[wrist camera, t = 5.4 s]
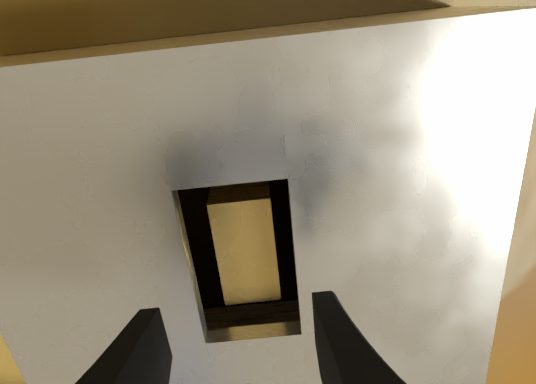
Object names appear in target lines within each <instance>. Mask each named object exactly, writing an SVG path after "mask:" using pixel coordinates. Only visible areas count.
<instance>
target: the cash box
mask: <svg viewBox="0 0 536 384" xmlns="http://www.w3.org/2000/svg"><path fill="white" fill-rule="evenodd" d="M535 103H536V6H479V7H444V8H435V9H426V10H417V11H408V12H399V13H390V14H381V15H372V16H363V17H354V18H345V19H336V20H327V21H318V22H309V23H300V24H291V25H282V26H273V27H264V28H255V29H246V30H237V31H228V32H219V33H210V34H201V35H192V36H183V37H174V38H165V39H156V40H147V41H138V42H129V43H120V44H111V45H102V46H93V47H84V48H75V49H66V50H57V51H48V52H39V53H30V54H21V55H12V56H2V57H0V333H1V335H2V337H3V339H4V341H5V343H6V345H7V347H8V349H9V351H10V353H11V355H12V357H13V358H14V360H15V362H16V364H17V366H18V368H19V370H20V372H21V374H22V376H23V378H24V380H25V382H26V384H75V383H76V382H77V381H78V380H79V379H80V378H81V376H82V375H83V374H84V373H85V372H86V371H87V370H88V369H89V368H90V367H91V366H92V365H93V364H94V362H95V361H96V360H97V359H98V358H99V357H100V356H101V354H102V353H103V352H104V351H105V350H106V349H107V348H108V346H109V345H110V344H111V343H112V342H113V340H114V339H115V338H116V337H117V336H118V335H119V333H120V332H121V331H122V330H123V329H124V327H125V326H126V325H127V324H128V323H129V321H130V320H131V319H132V318H133V317H134V315H135V314H136V313H137V312H138V311H139V310H140V309H148V308H158V307H159V308H160V312H161V316H162V319H163V323H164V326H165V330H166V334H167V337H168V341H169V345H170V348H171V352H172V356H173V357H172V365H171V373H170V380H169V384H322V381H321V377H320V371H319V365H318V358H317V352H316V345H315V334H314V319H313V305H312V292H321V291H333V292H334V293H335V294H336V296H337V298H338V300H339V301H340V303H341V305H342V306H343V308H344V309H345V311H346V312H347V314H348V315H349V317H350V318H351V320H352V321H353V322H354V324H355V325H356V327H357V328H358V329H359V330H360V332H361V333H362V334H363V336H364V337H365V338H366V339H367V341H368V342H369V343H370V344H371V346H372V347H373V348H374V349H375V350H376V352H377V353H378V354H379V355H380V356H381V357H382V358H383V360H384V361H385V362H386V363H387V364H388V365H389V366H390V367H391V368H392V369H393V370H394V371H395V373H396V374H397V375H398V376H399V377H400V378H401V379H402V380H403V381H404V382H405V383H406V384H485V381H486V375H487V370H488V365H489V359H490V354H491V348H492V342H493V337H494V331H495V326H496V320H497V314H498V309H499V303H500V298H501V292H502V287H503V281H504V276H505V270H506V264H507V259H508V253H509V248H510V242H511V236H512V231H513V225H514V220H515V214H516V209H517V203H518V197H519V192H520V186H521V181H522V175H523V170H524V164H525V158H526V153H527V147H528V142H529V136H530V130H531V125H532V119H533V114H534V108H535ZM279 179H287V181H288V192H289V203H290V215H291V226H292V237H293V249H294V260H295V271H296V283H297V294H298V300H294V301H284V302H274V303H263V304H253V305H243V306H233V307H222V308H212V309H203V306H202V302H201V297H200V293H199V288H198V283H197V279H196V274H195V270H194V265H193V260H192V256H191V251H190V246H189V242H188V237H187V233H186V228H185V223H184V219H183V214H182V210H181V205H180V200H179V196H178V191H177V190H182V189H192V188H201V187H211V186H221V185H230V184H240V183H250V182H259V181H269V180H279Z"/></svg>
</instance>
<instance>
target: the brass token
mask: <svg viewBox="0 0 536 384" xmlns="http://www.w3.org/2000/svg"><path fill="white" fill-rule="evenodd" d="M207 210H208V215H209V220H210V226H211V231H212V237H213V242H214V247H215V253H216V258H217V264H218V269H219V274H220V280H221V285H222V290H223V296H224V301H225V305H232V304H241V303H251V302H261V301H270V300H280V299H281V292H280V282H279V272H278V262H277V252H276V242H275V232H274V223H273V214H272V205H271V196H270V187H269V181H259V182H250V183H240V184H230V185H221V186H211V188H210V193H209V197H208V202H207Z"/></svg>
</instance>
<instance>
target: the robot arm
mask: <svg viewBox="0 0 536 384" xmlns="http://www.w3.org/2000/svg"><path fill="white" fill-rule="evenodd" d="M312 305H313V319H314V334H315V345H316V352H317V358H318V365H319V371H320V377H321V381H322V384H406V383H405V382H404V381H403V380H402V379H401V378H400V377H399V376H398V375H397V374H396V373H395V371H394V370H393V369H392V368H391V367H390V366H389V365H388V364H387V363H386V362H385V361H384V360H383V358H382V357H381V356H380V355H379V354H378V353H377V352H376V350H375V349H374V348H373V347H372V346H371V344H370V343H369V342H368V341H367V339H366V338H365V337H364V336H363V334H362V333H361V332H360V330H359V329H358V328H357V327H356V325H355V324H354V322H353V321H352V320H351V318H350V317H349V315H348V314H347V312H346V311H345V309H344V308H343V306H342V305H341V303H340V301H339V300H338V298H337V296H336V294H335V293H334V292H333V291H321V292H312ZM172 357H173V356H172V352H171V348H170V345H169V341H168V337H167V334H166V330H165V326H164V323H163V319H162V316H161V312H160V308H159V307H158V308H148V309H140V310H139V311H138V312H137V313H136V314H135V315H134V317H133V318H132V319H131V320H130V321H129V323H128V324H127V325H126V326H125V327H124V329H123V330H122V331H121V332H120V333H119V335H118V336H117V337H116V338H115V339H114V340H113V342H112V343H111V344H110V345H109V346H108V348H107V349H106V350H105V351H104V352H103V353H102V354H101V356H100V357H99V358H98V359H97V360H96V361H95V362H94V364H93V365H92V366H91V367H90V368H89V369H88V370H87V371H86V372H85V373H84V374H83V375H82V376H81V378H80V379H79V380H78V381H77V382H76V383H75V384H169V380H170V373H171V365H172Z"/></svg>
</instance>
